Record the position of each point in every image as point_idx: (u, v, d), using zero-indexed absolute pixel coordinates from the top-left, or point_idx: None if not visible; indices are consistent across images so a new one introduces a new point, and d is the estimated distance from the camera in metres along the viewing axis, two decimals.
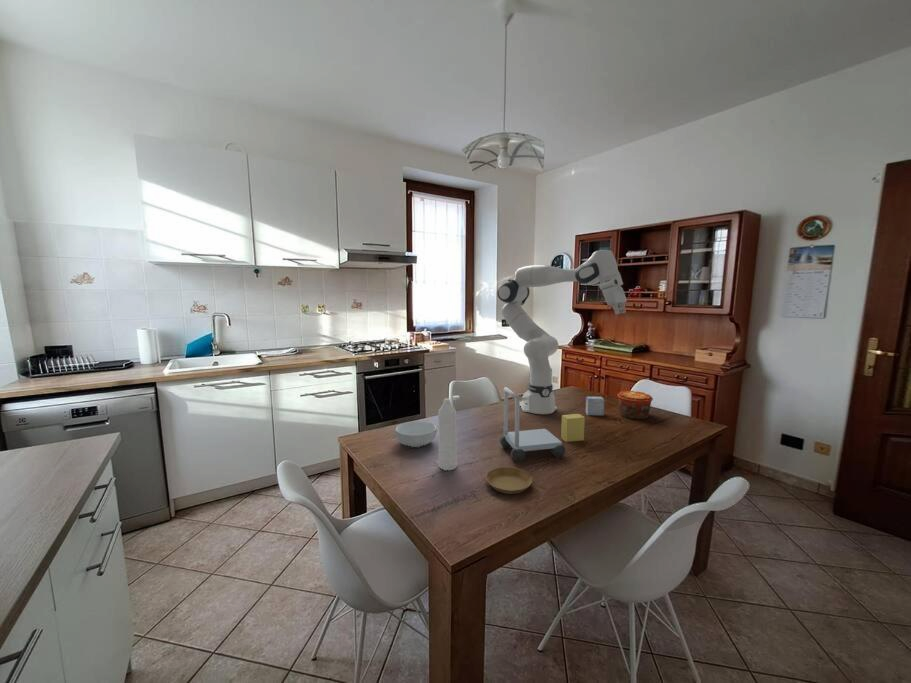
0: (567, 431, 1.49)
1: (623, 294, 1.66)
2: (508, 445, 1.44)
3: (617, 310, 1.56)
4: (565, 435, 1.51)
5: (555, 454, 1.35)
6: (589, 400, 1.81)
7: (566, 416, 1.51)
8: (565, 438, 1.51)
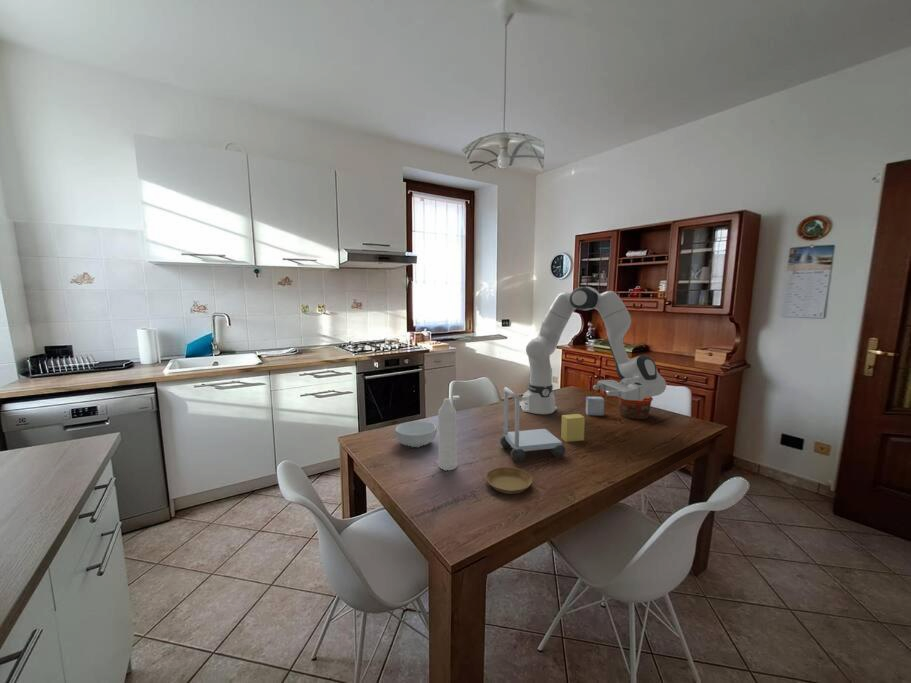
0: (567, 431, 1.49)
1: None
2: (508, 445, 1.44)
3: (611, 394, 1.48)
4: (565, 435, 1.51)
5: (555, 454, 1.35)
6: (589, 400, 1.81)
7: (566, 416, 1.51)
8: (565, 438, 1.51)
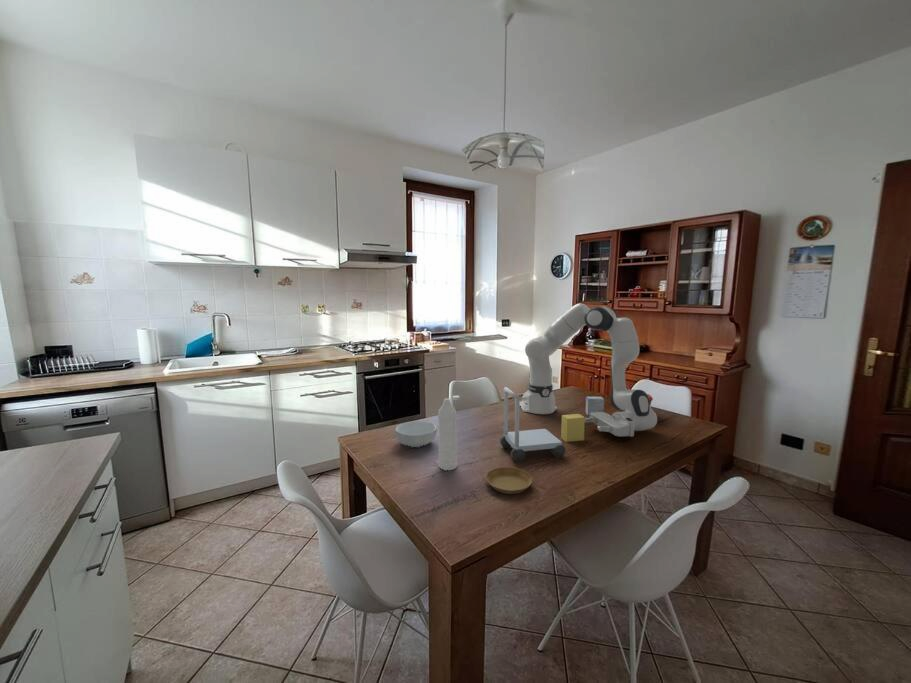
0: (567, 431, 1.49)
1: None
2: (508, 445, 1.44)
3: (602, 430, 1.49)
4: (565, 435, 1.51)
5: (555, 454, 1.35)
6: (589, 400, 1.81)
7: (566, 416, 1.51)
8: (565, 438, 1.51)
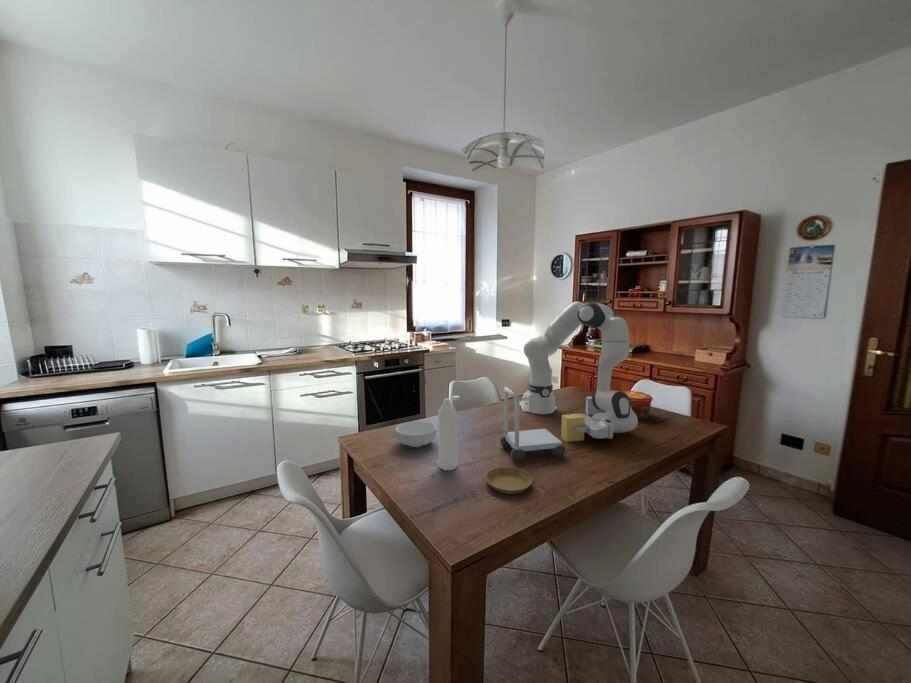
0: (567, 431, 1.49)
1: None
2: (508, 445, 1.44)
3: (578, 430, 1.49)
4: (565, 435, 1.51)
5: (555, 454, 1.35)
6: (589, 400, 1.81)
7: (566, 416, 1.51)
8: (565, 438, 1.51)
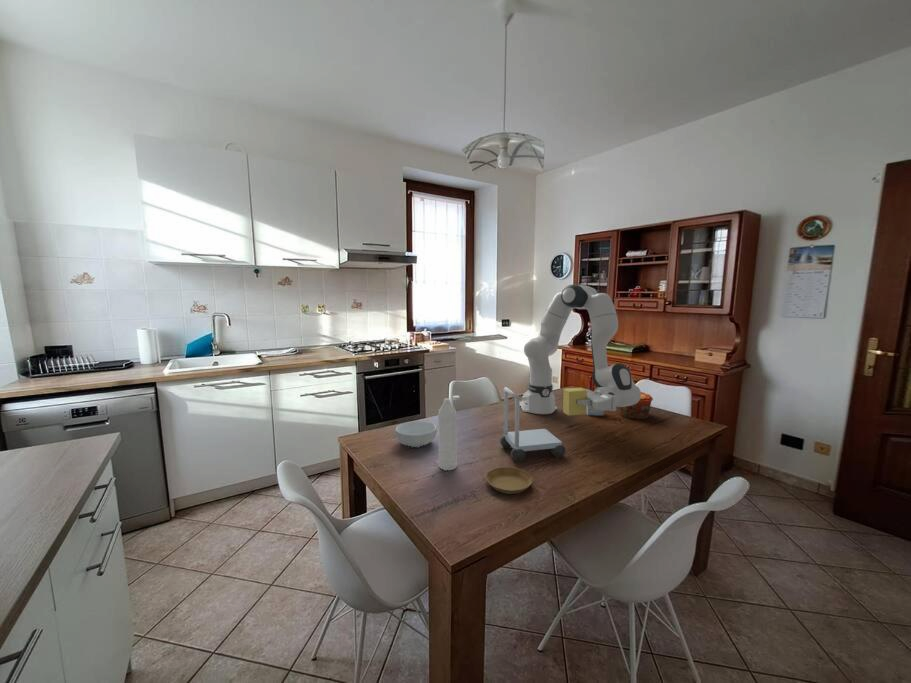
0: (569, 404, 1.46)
1: None
2: (508, 445, 1.44)
3: (581, 403, 1.45)
4: (567, 409, 1.47)
5: (555, 454, 1.35)
6: None
7: (568, 389, 1.48)
8: (567, 412, 1.47)
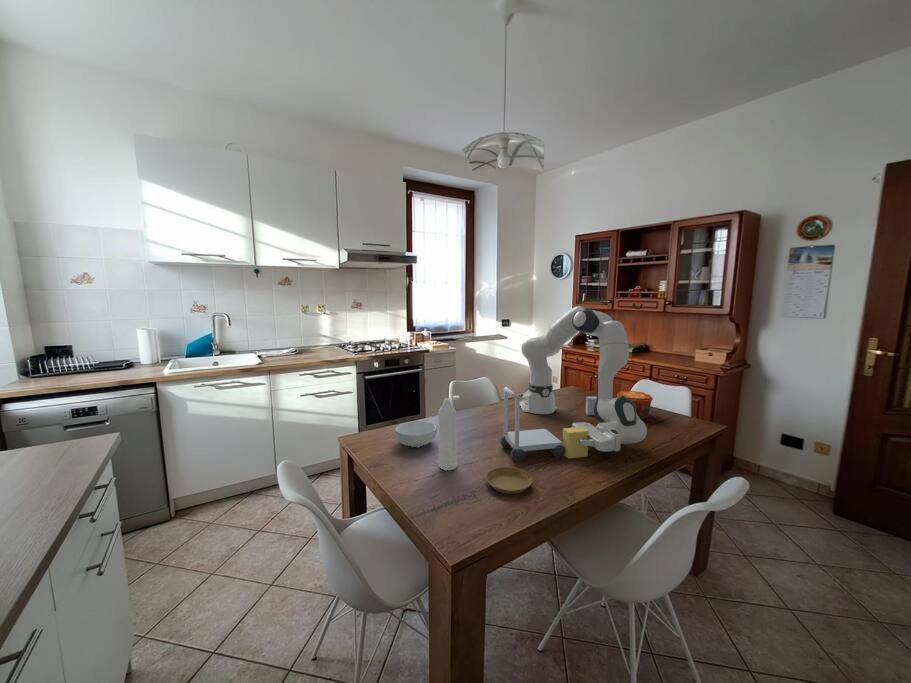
0: (569, 446, 1.34)
1: None
2: (508, 445, 1.44)
3: (584, 443, 1.32)
4: (567, 451, 1.36)
5: (555, 454, 1.35)
6: (589, 400, 1.81)
7: (568, 430, 1.36)
8: (567, 454, 1.36)
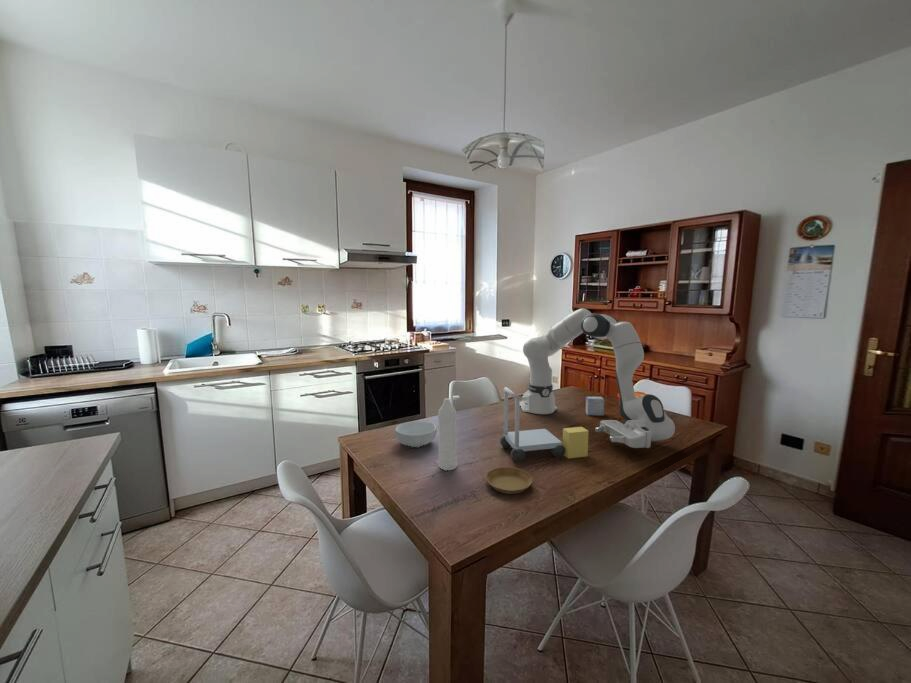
0: (569, 446, 1.34)
1: None
2: (508, 445, 1.44)
3: (615, 440, 1.34)
4: (567, 451, 1.36)
5: (555, 454, 1.35)
6: (589, 400, 1.81)
7: (568, 430, 1.36)
8: (567, 454, 1.36)
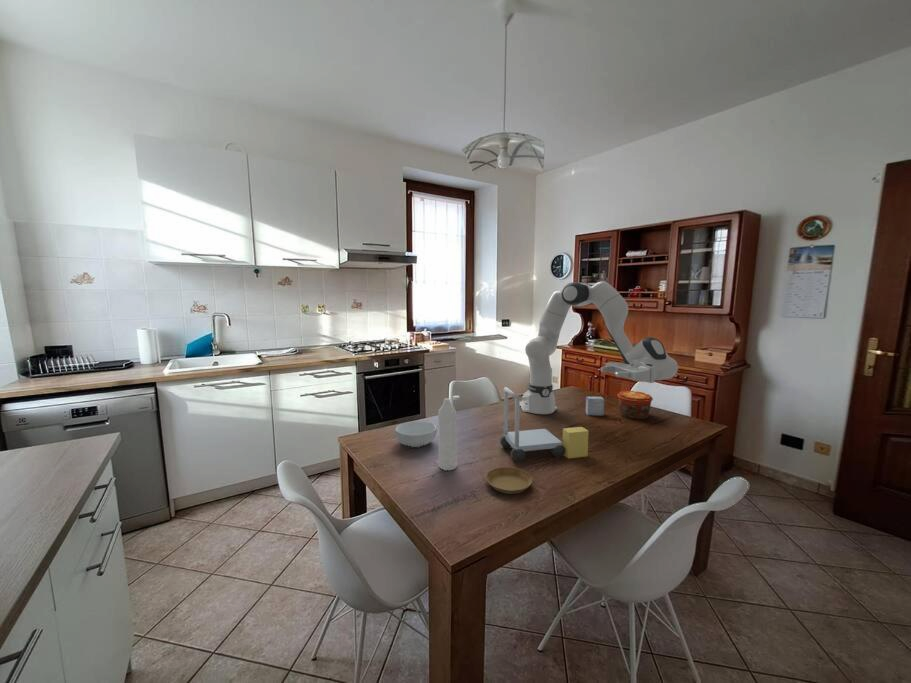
0: (569, 446, 1.34)
1: None
2: (508, 445, 1.44)
3: (620, 375, 1.38)
4: (567, 451, 1.36)
5: (555, 454, 1.35)
6: (589, 400, 1.81)
7: (568, 430, 1.36)
8: (567, 454, 1.36)
